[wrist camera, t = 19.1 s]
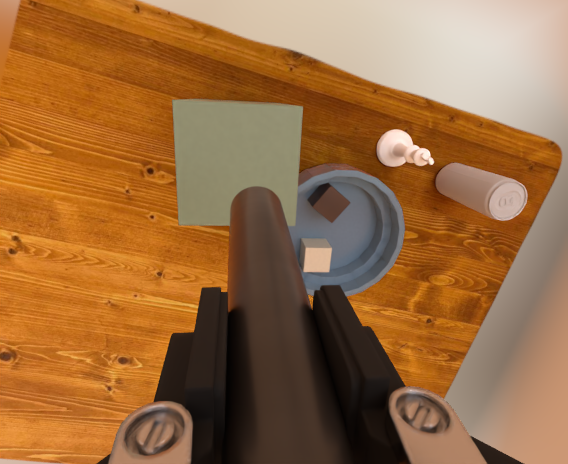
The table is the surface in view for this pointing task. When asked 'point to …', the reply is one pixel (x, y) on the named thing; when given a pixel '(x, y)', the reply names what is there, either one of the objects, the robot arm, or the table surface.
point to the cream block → (315, 255)
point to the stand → (234, 155)
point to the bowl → (350, 228)
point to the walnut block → (328, 202)
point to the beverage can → (482, 191)
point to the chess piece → (400, 150)
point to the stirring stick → (274, 349)
